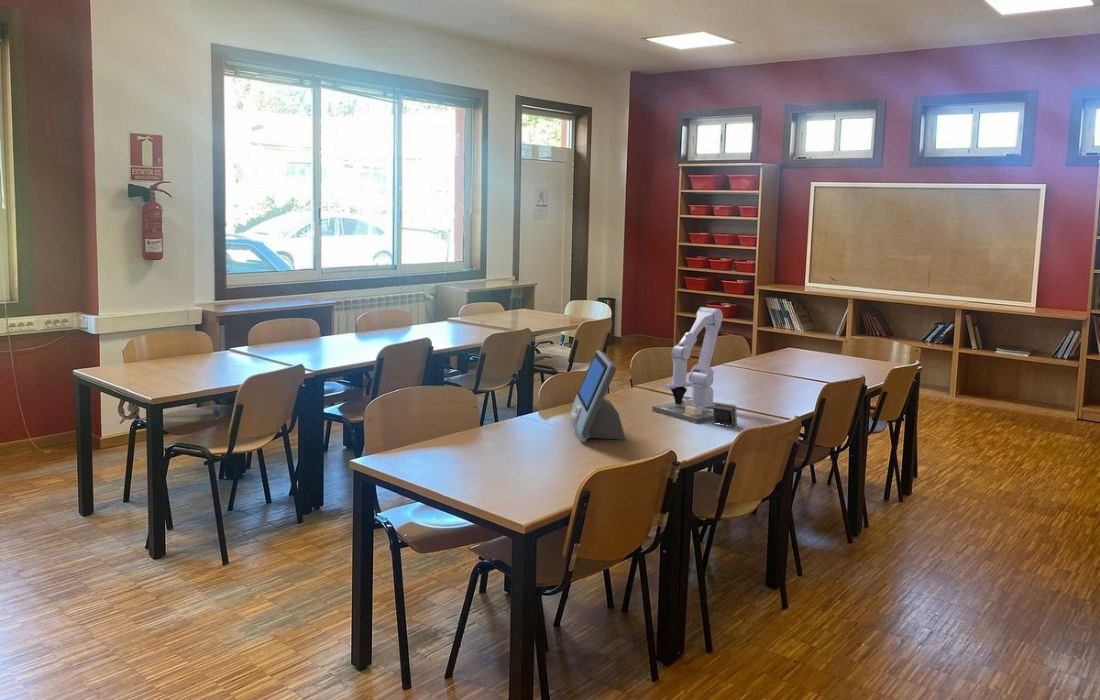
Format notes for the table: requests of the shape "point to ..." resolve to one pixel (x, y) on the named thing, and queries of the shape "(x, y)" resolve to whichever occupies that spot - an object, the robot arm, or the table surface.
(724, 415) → the electrical switch
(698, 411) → the slider
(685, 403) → the slider
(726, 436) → the table surface
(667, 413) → the switch panel
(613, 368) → the touchscreen device
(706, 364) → the robot arm
